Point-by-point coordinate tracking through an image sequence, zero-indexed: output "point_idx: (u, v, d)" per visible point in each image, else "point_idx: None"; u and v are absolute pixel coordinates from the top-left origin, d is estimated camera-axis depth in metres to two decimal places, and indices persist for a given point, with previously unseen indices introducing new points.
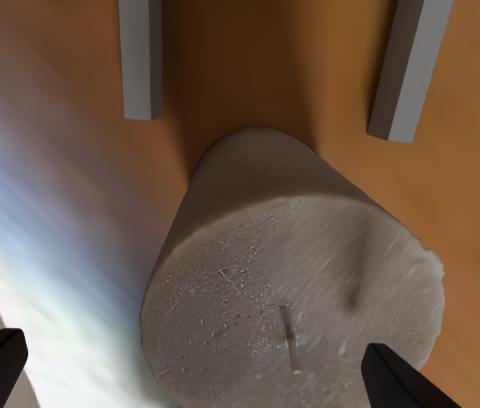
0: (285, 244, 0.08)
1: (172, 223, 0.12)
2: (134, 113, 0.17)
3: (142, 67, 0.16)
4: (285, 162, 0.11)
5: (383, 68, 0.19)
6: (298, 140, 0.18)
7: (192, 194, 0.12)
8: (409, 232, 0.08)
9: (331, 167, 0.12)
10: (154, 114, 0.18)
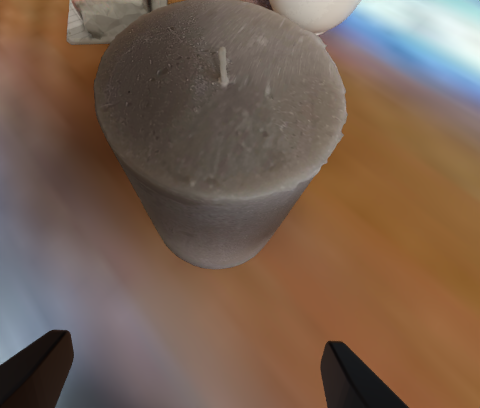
0: (213, 16, 0.12)
1: None
2: None
3: None
4: None
5: None
6: None
7: None
8: None
9: None
10: None
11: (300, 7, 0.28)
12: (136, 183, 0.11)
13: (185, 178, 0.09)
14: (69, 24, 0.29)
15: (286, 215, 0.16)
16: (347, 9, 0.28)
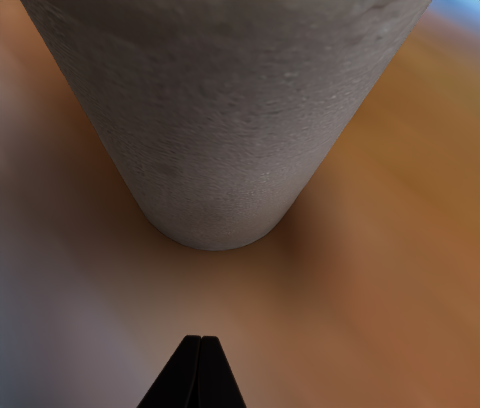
0: None
1: None
2: None
3: None
4: None
5: None
6: None
7: None
8: None
9: None
10: None
11: None
12: (44, 25, 0.05)
13: None
14: None
15: None
16: None
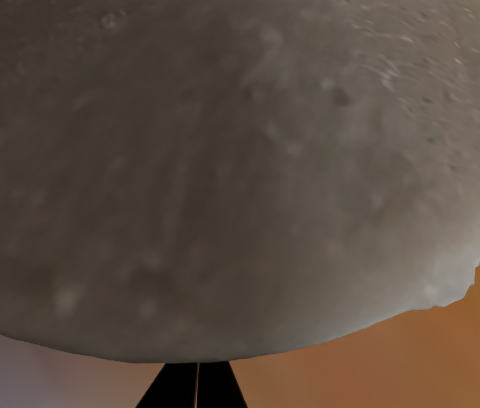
0: None
1: None
2: None
3: None
4: None
5: None
6: None
7: None
8: None
9: None
10: None
11: None
12: None
13: (36, 276, 0.02)
14: None
15: None
16: None
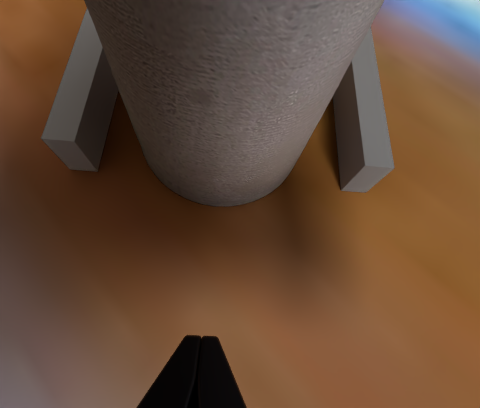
0: None
1: None
2: (55, 134, 0.14)
3: (79, 93, 0.15)
4: None
5: (336, 129, 0.19)
6: None
7: None
8: None
9: None
10: (83, 146, 0.15)
11: None
12: None
13: None
14: None
15: (338, 84, 0.11)
16: None
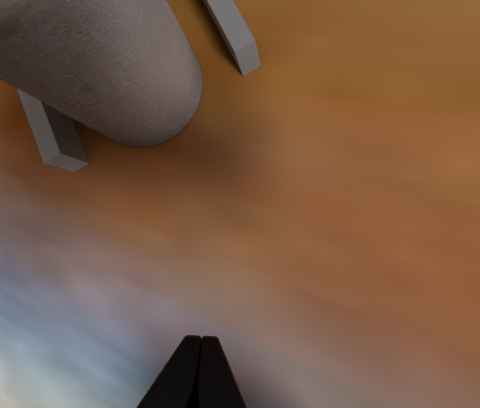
0: None
1: None
2: (48, 156, 0.21)
3: (43, 123, 0.22)
4: None
5: (219, 31, 0.23)
6: None
7: None
8: None
9: None
10: (68, 153, 0.22)
11: None
12: None
13: None
14: None
15: (164, 20, 0.16)
16: None
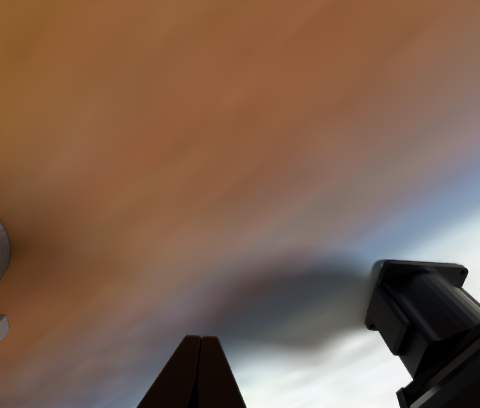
0: None
1: None
2: None
3: None
4: None
5: None
6: None
7: None
8: None
9: None
10: None
11: None
12: None
13: None
14: None
15: None
16: None
